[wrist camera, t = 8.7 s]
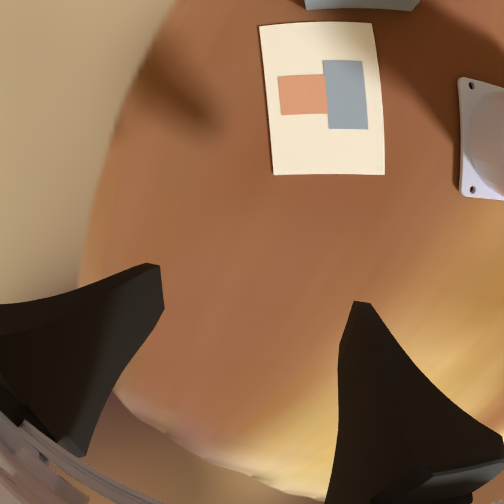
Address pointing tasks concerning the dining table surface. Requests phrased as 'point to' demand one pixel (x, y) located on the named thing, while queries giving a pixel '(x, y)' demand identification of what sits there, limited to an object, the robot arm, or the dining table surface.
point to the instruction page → (323, 98)
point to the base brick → (362, 4)
